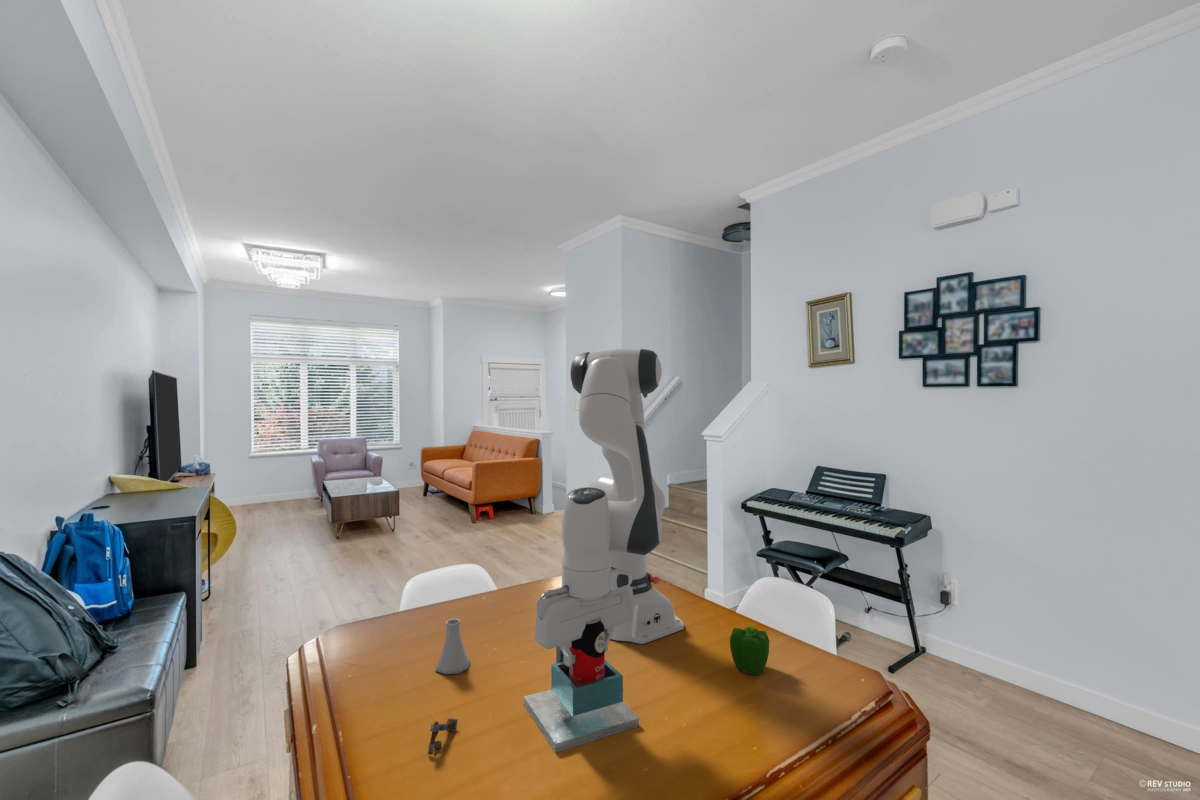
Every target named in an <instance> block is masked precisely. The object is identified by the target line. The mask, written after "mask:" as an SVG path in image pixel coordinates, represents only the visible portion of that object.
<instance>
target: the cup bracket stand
mask: <svg viewBox="0 0 1200 800" xmlns="http://www.w3.org/2000/svg"><path fill="white" fill-rule="evenodd" d="M555 651H556V653H555V655H556V656H555V658H556V659H555V660H556V661H555V662H556V663H552V664H551V665H550V666H551V676H550V677H551V679H550V680H551V681H550V682H551V688H550V689H548V690H544V691H539V692H536V693H535V692H534V693H532V694H528V695H524V696H523V706H524V707H525V709H526V710H527V711H528V713H529V714H530V716H531V718H532V719H533V721H534V722H535V724H536V725H537V727H538V729H539V730H540V731H541V733H542V735H543V737H544V738H545V740H547V742H548V745H550V747H551V748H552V750H553V752H554V753H555V754H557V753H559V752H563V751H566V750H569V749H572V748H575V747H578V746H581V745H585V744H589V743H591V742H594V741H597V740H601V739H605V738H606V737H610V736H613V735H616V734H619V733H622V732H626V731H629V730H632V729H636V728H638V727H640V717H639V716H638V715H637V713H635V712H634V711H633V709H631V707H629V706H628V705H627V704H626V703H625V702H624V676H623V674H621V672H619V671H618V670H617V669H616V668H615V667H614V666H613V665H611V663H610V662H608V661H607V660H606V659H605V678H603V679H599V680H595V681H591V682H588V683H584V684H580V685H576V686H575V685H574V684H573V683H572V682H571V680H570V679H569V666H567V665H565V664H564V654H563V653H562V651H561V649H560V648H559V646H557V647H555Z"/></svg>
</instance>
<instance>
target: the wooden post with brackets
mask: <svg viewBox="0 0 1200 800" xmlns="http://www.w3.org/2000/svg"><path fill="white" fill-rule="evenodd" d="M458 721H459V719H458V718H450V717H448V718H447V722H445V723H444V722H443V723H439V721H434V722H433V724H430V729H429V732H431V736H430V741H429V743H428V750H427V755H433V754H434V750H438V749H439V748H441V747H442V743H443V741H442V740H436V738H437V736H438V735H439V732H444V731H452V732H456V731H457V727H458Z"/></svg>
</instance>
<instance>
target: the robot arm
mask: <svg viewBox="0 0 1200 800" xmlns="http://www.w3.org/2000/svg"><path fill="white" fill-rule="evenodd" d="M661 364H662V363H661V361H660V359H659V357H658V354H657V353H656V352H655V351H653V350H650V349H646V348H645V349H644V348H640V350H639V349H629V348H627V349H626V348H624V349H623V348H615V349H611V350H601V351H595V352H589V351H587V352H582V353H579V354H577V355H576V356H575V357H574V358H573V359H572V362H571V366H570V372H569V374H570V375H569V376H570V381H571V384H572V388H573V389H574V391H575V392H577V393H578V394H580V400H579V405H578V406H579V408H578V419H579V420H578V421H579V426H580V429H581V431H582V432H583V434H584V435H585V436H586V437H587V438H588V439H589V440H591V441H592V442H593V443H595V444H597V445H599V446H601V453H602V456H603V457H604V459H605V460H606V462H607V463H608V466H609V468H610V471H611V473H606V474H601V475H598V476H596V477H595V478H593V479H591V481H590V483H589V485H588V487H580V488H576V489H573V490H570V491H569V492H568V493H567V494H566V496H565V499H564V504H563V505H564V506H563V511H562V518H561V521H562V522H561V523H562V524H561V543H562V546H563V557H562V559H561V560H562V561H561V586H560V587H557V588H554V589H548V590H546V591H544V592H543V594H542V595H540V597H539V598H538V600H537V601H536V617H535V625H534V640H535V642H537V645H540V646H541V647H542V648H544V649H546V650H552V649H553V648H556V647H557V646H559V648H560V649H561V651H562V653H563V654H564V664H565V665H567V666H571V665H574V664H576V654H574V653H572V652H571V651H570V650H569V647H571V641H574V640H577V639H580V638H581V637H582V633H583V631H584V628H585V626H586V624H585V623H586V622H590V621H594V620H599V619H600V618H601V622H602V623H603V625H604V627H605V653H607V652H608V651H609V642H610V640H613V641H618V642H619V641H621V642H630V643H631V642H632V643H634V644H639V645H641V644H642V645H643V644H646V643H649V642H652V641H655V640H658V639H660V638H663V637H666V636H669V635H672V634H673V633H676V632H679V631H681V630H684V627H685V626H684V622H683V621H682V619H680V617H678V616H677V615H675V610H674V605H673V603H672V601H671V600H670V599H669V598H668V597H667V596H665V595H664V594H663V593H661V592H660V591H659V590H657V589H656V588H655V587H653V584H654V585H659V584H660V582H661V578H660V577H659V576H658V575H656V574H651V573H650V572H647V555H648V554H649V553H650V552H652V551H653V550H655V549H656V548H657V547H658V546H659V545H660V544H661V540H662V535H663V525H662V519H661V517H662V514H663V513H664V511H665V506H666V498H665V497H666V496H665V494H664V492H663V490H662V489H661V488H660V487H659V485H658V484H657V482H656V480H655V479H654V477H653V474H652V473H653V472H652V469H651V468H652V467H651V462H650V461H651V460H650V455H649V454H650V453H649V449H648V443H647V439H646V435H645V414H644V413H645V412H644V403H643V399H645V398H648V395H649V394H651V393H653V392H654V391H655V390H657V388H658V387H659V383H660V381H661V378H662V373H663V372H662V371H663V369H662V365H661ZM642 396H643V398H642ZM652 583H653V584H652Z"/></svg>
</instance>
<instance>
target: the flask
mask: <svg viewBox="0 0 1200 800" xmlns="http://www.w3.org/2000/svg"><path fill="white" fill-rule="evenodd" d="M461 622H462V621H461V619H459V618H449V619H448V620H446V621H445V624H444V625H445V626H446V635H445V640H444V643H443V647H442V649H441V652H440V657H439V660H438V662H437V664H436V668H435V672H437V673H440V674H443V675H456V674H460V673H462V672H464V671H465V670H467V669H469V666H470V663H471V660H470V657H469V655H468V653H467V650H466V647H465V644H464V643H463V639H462V636H461V631H460V625H461Z"/></svg>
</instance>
